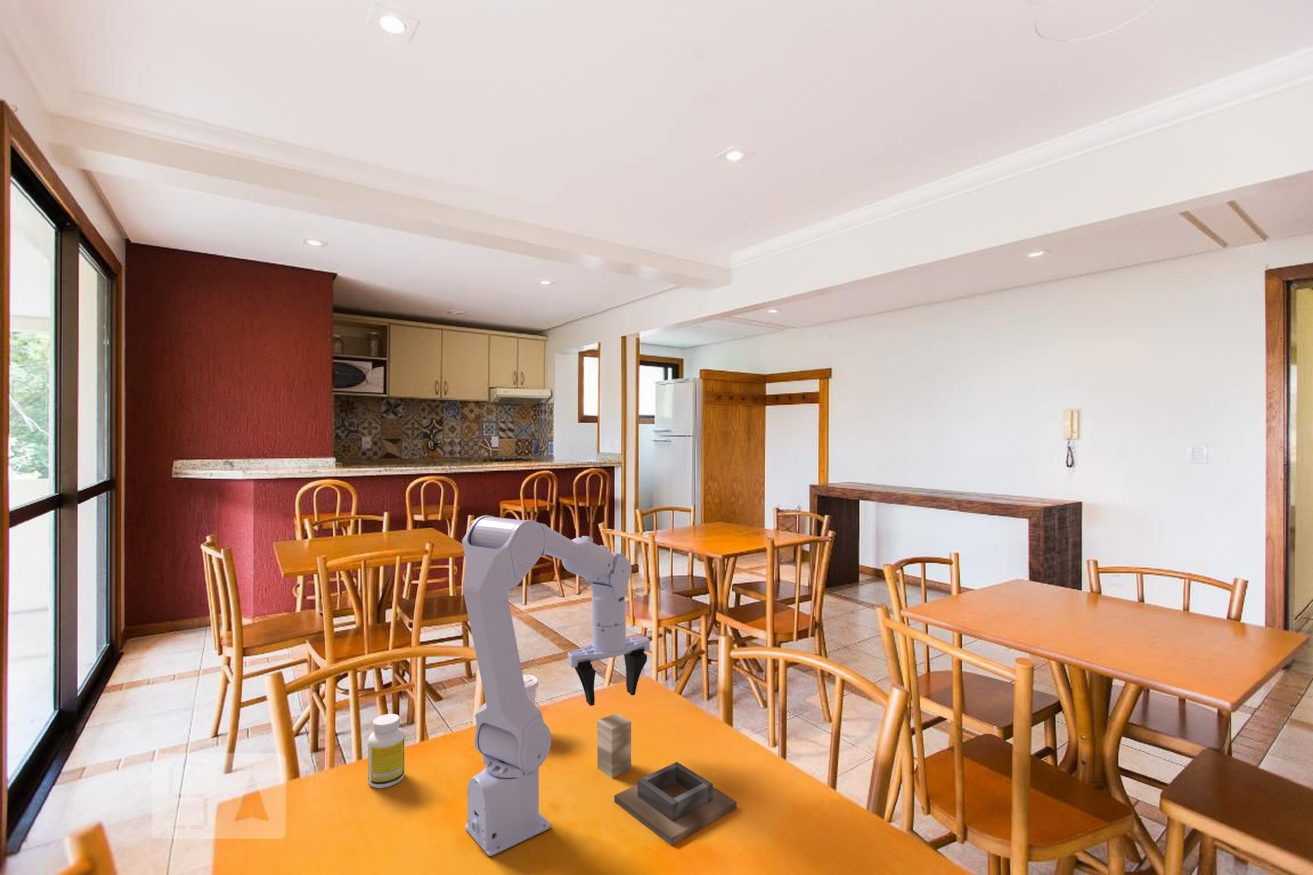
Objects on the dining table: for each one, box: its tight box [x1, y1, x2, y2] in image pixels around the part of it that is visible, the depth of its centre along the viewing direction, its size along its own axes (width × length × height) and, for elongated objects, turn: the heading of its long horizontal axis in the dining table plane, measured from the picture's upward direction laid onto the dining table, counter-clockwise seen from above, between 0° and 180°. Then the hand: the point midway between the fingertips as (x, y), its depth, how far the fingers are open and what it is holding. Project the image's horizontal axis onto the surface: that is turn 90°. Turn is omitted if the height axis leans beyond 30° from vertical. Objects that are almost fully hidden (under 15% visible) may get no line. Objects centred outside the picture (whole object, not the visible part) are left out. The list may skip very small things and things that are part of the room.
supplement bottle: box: [367, 713, 405, 789], centre depth 100 cm, size 5×5×10 cm
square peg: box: [596, 712, 632, 779], centre depth 104 cm, size 4×4×8 cm
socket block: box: [613, 761, 738, 846], centre depth 94 cm, size 13×13×4 cm
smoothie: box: [523, 674, 539, 705], centre depth 116 cm, size 6×6×14 cm
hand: (611, 697), depth 108 cm, fingers open, 7 cm apart
